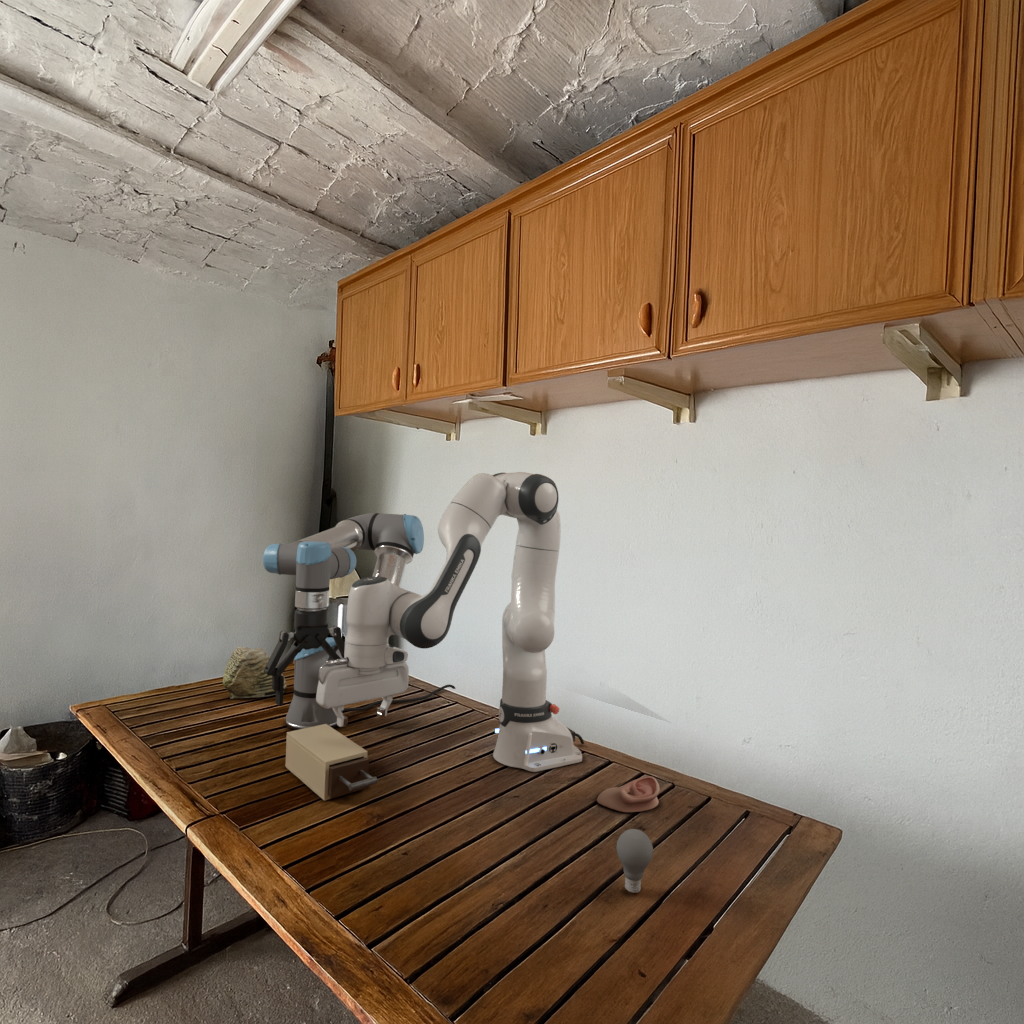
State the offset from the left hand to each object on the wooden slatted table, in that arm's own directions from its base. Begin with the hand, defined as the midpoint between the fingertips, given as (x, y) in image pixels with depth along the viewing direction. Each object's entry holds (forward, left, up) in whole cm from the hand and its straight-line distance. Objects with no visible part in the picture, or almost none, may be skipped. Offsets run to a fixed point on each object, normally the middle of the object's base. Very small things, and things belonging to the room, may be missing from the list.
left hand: (308, 699), depth 147 cm
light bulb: (-10, +80, -16) cm, 82 cm away
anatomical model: (-38, +63, -16) cm, 76 cm away
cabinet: (0, +7, -16) cm, 18 cm away
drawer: (+1, +13, -15) cm, 20 cm away
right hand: (+2, +22, +1) cm, 22 cm away
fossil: (-19, -57, -16) cm, 62 cm away
